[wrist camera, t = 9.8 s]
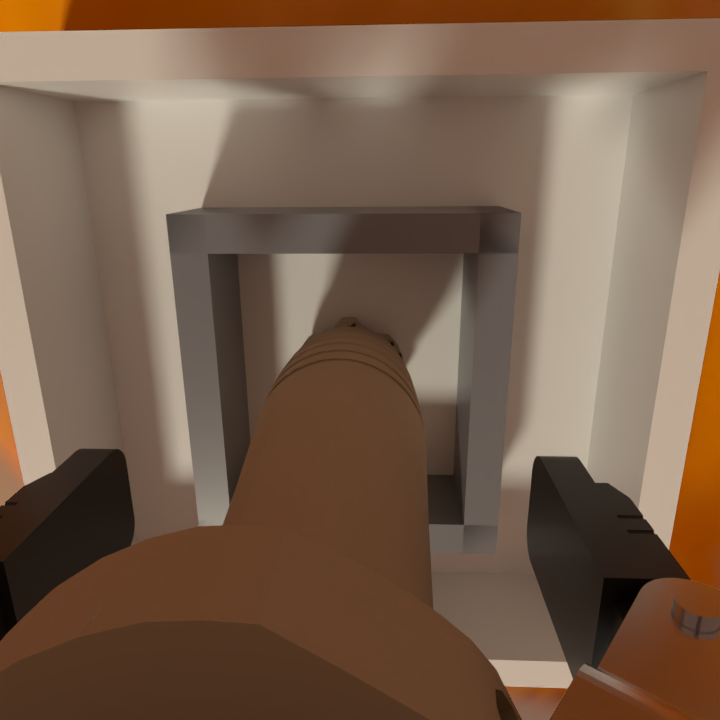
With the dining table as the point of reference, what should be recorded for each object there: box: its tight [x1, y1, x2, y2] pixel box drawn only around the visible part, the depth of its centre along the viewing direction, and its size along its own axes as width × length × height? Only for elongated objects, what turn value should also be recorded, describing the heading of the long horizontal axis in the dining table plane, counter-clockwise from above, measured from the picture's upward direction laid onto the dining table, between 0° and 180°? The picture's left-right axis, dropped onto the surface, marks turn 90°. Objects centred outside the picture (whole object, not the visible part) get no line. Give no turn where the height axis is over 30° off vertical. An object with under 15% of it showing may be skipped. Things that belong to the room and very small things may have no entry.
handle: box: [0, 317, 522, 720], centre depth 12 cm, size 5×6×15 cm
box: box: [0, 18, 720, 688], centre depth 18 cm, size 18×18×5 cm
